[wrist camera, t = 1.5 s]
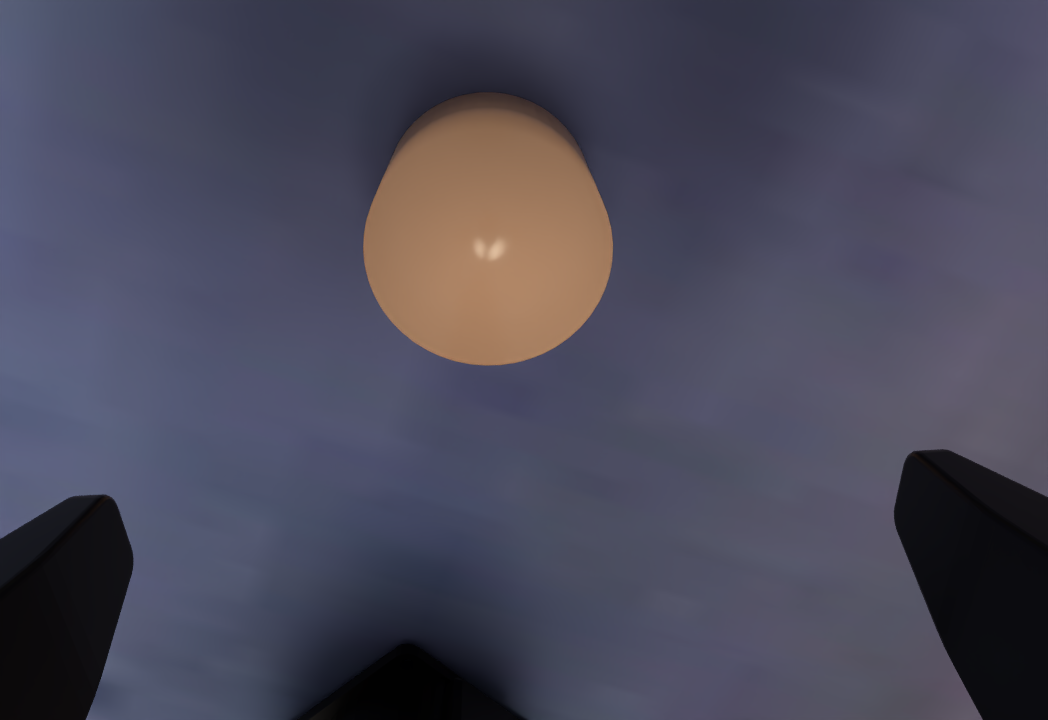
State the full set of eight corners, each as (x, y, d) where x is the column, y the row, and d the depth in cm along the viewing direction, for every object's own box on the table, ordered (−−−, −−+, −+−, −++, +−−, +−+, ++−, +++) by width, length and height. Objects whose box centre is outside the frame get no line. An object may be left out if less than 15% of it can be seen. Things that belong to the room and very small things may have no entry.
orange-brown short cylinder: (484, 328, 22) (483, 406, 18) (342, 192, 20) (310, 249, 16) (631, 203, 20) (662, 261, 17) (493, 43, 18) (495, 71, 15)
